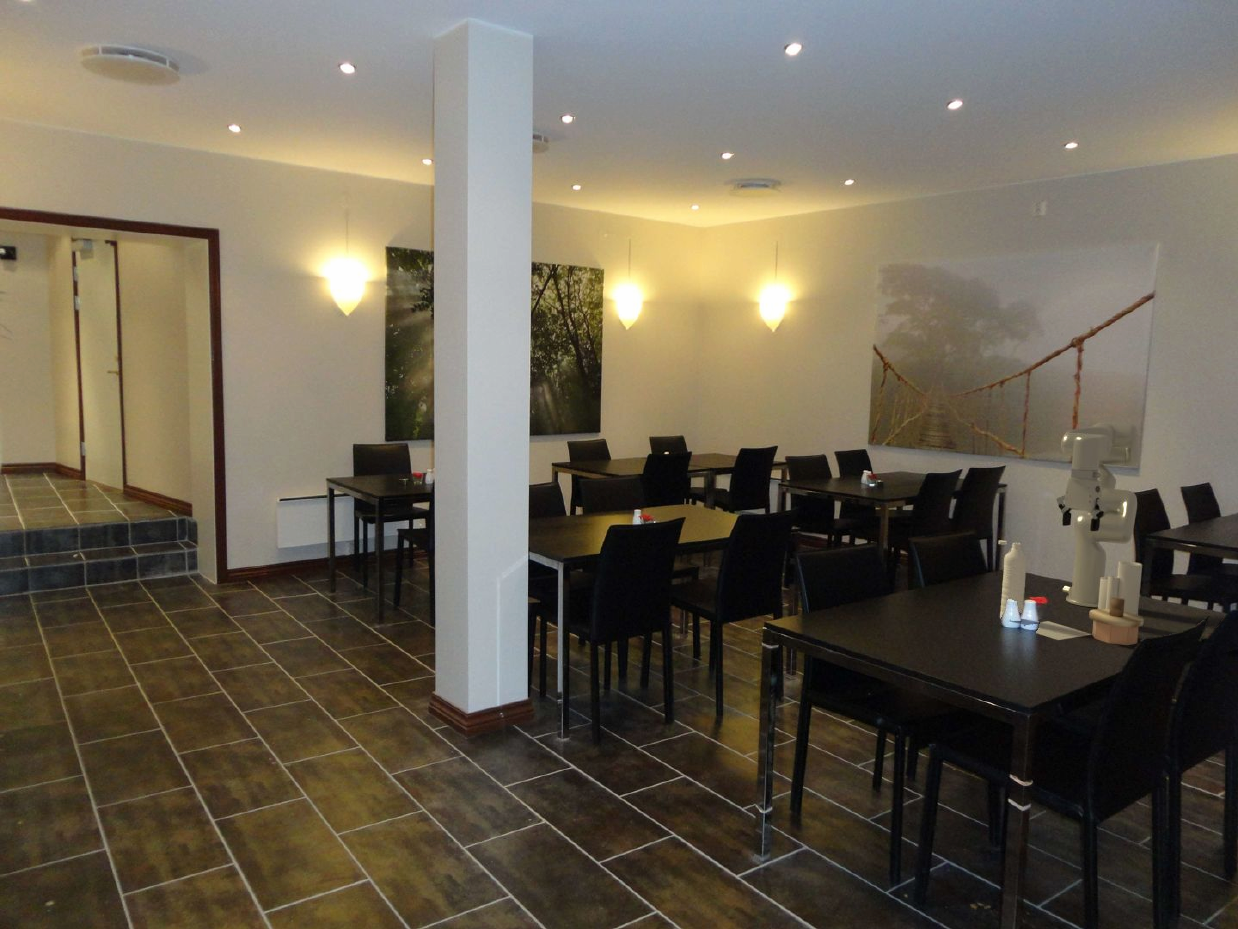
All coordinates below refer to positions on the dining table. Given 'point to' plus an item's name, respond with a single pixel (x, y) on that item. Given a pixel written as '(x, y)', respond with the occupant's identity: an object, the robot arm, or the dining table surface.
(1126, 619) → the lid
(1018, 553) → the water bottle
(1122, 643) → the bowl
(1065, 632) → the mat
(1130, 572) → the candle
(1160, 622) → the dining table surface
